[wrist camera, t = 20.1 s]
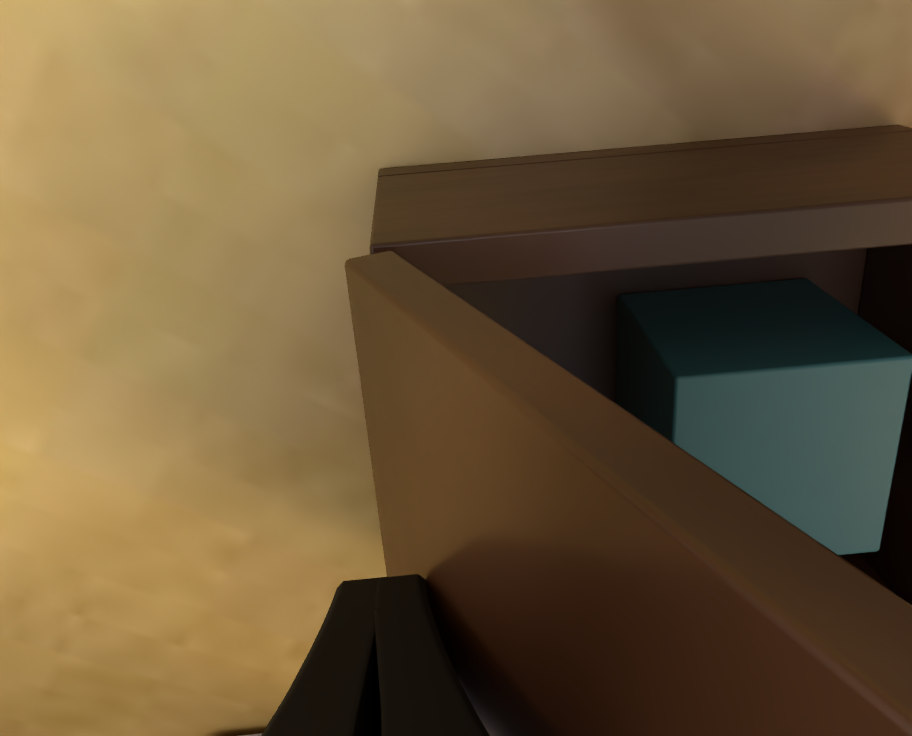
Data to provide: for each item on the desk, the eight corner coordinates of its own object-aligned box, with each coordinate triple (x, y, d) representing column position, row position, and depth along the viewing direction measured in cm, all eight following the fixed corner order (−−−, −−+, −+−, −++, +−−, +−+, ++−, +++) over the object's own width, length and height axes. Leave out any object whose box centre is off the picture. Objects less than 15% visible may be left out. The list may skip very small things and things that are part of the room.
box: (900, 124, 18) (1102, 181, 13) (839, 517, 23) (970, 677, 17) (378, 168, 18) (368, 244, 13) (421, 558, 22) (428, 733, 17)
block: (788, 443, 21) (880, 552, 17) (614, 459, 21) (666, 573, 17) (807, 277, 19) (916, 355, 15) (617, 294, 19) (675, 378, 15)
